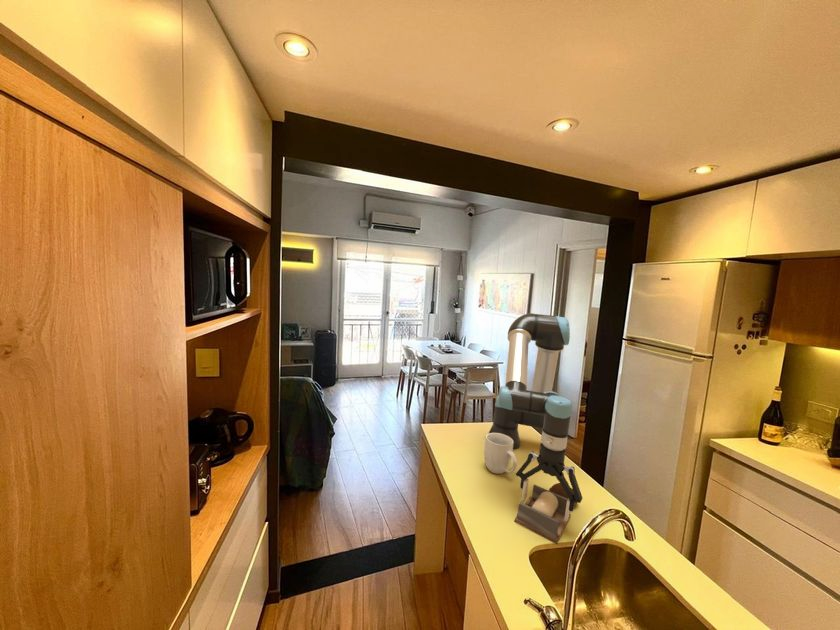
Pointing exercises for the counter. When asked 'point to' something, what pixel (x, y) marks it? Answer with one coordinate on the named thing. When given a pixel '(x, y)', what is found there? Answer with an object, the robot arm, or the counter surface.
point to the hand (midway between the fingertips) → (544, 508)
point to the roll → (546, 503)
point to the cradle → (543, 516)
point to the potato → (559, 490)
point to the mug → (499, 453)
